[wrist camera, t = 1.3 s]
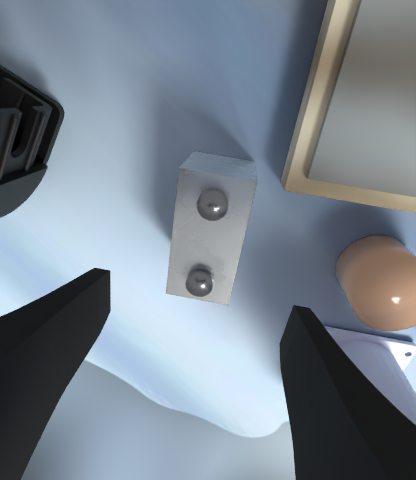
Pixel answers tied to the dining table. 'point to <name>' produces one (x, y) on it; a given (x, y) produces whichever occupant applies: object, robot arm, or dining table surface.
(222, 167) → the alloy housing
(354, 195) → the birch plinth
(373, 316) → the peach rounded cylinder
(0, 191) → the end cap
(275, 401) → the dining table surface
